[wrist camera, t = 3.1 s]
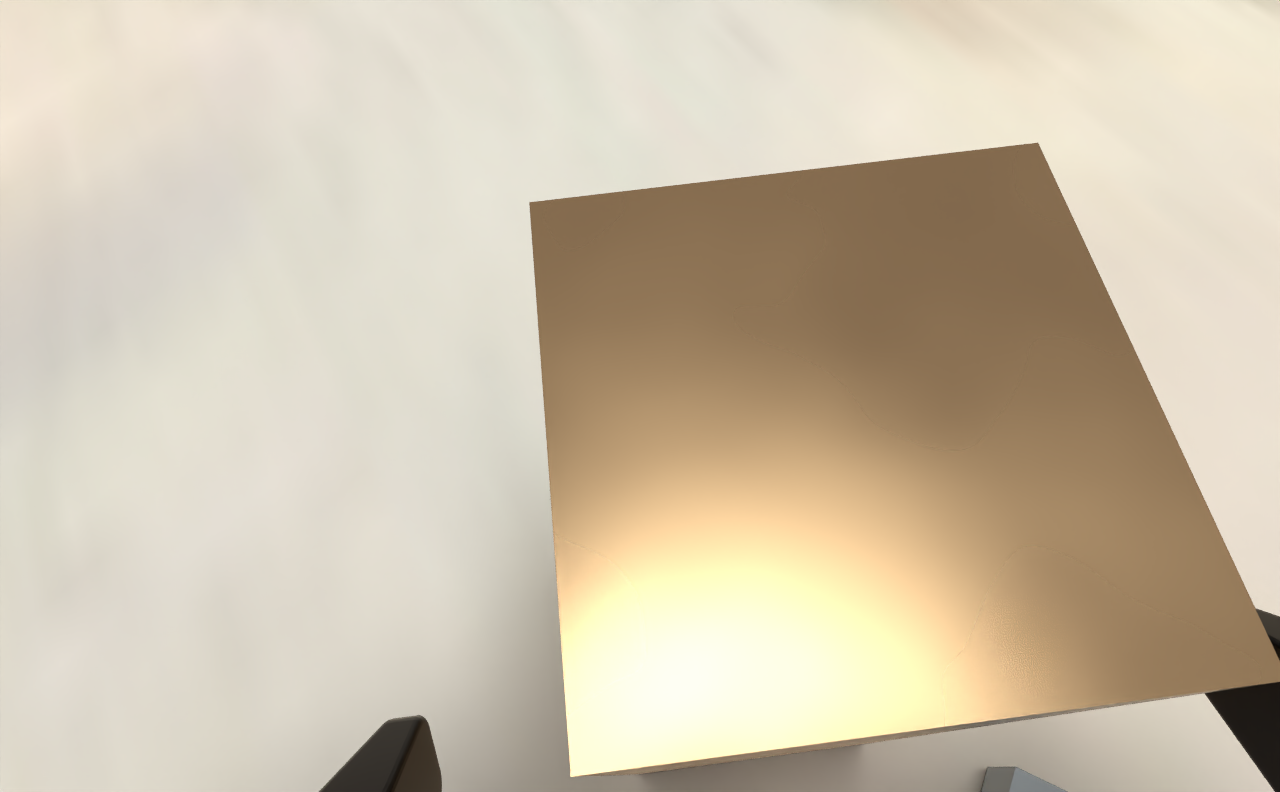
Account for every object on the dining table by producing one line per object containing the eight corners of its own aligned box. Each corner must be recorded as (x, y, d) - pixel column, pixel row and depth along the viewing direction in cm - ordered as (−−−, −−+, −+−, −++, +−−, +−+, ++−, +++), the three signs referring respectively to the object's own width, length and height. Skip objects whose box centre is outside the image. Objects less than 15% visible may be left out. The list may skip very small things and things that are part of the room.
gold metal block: (863, 743, 17) (1289, 680, 5) (639, 774, 17) (570, 776, 5) (813, 525, 19) (1038, 142, 8) (615, 551, 19) (529, 202, 7)
